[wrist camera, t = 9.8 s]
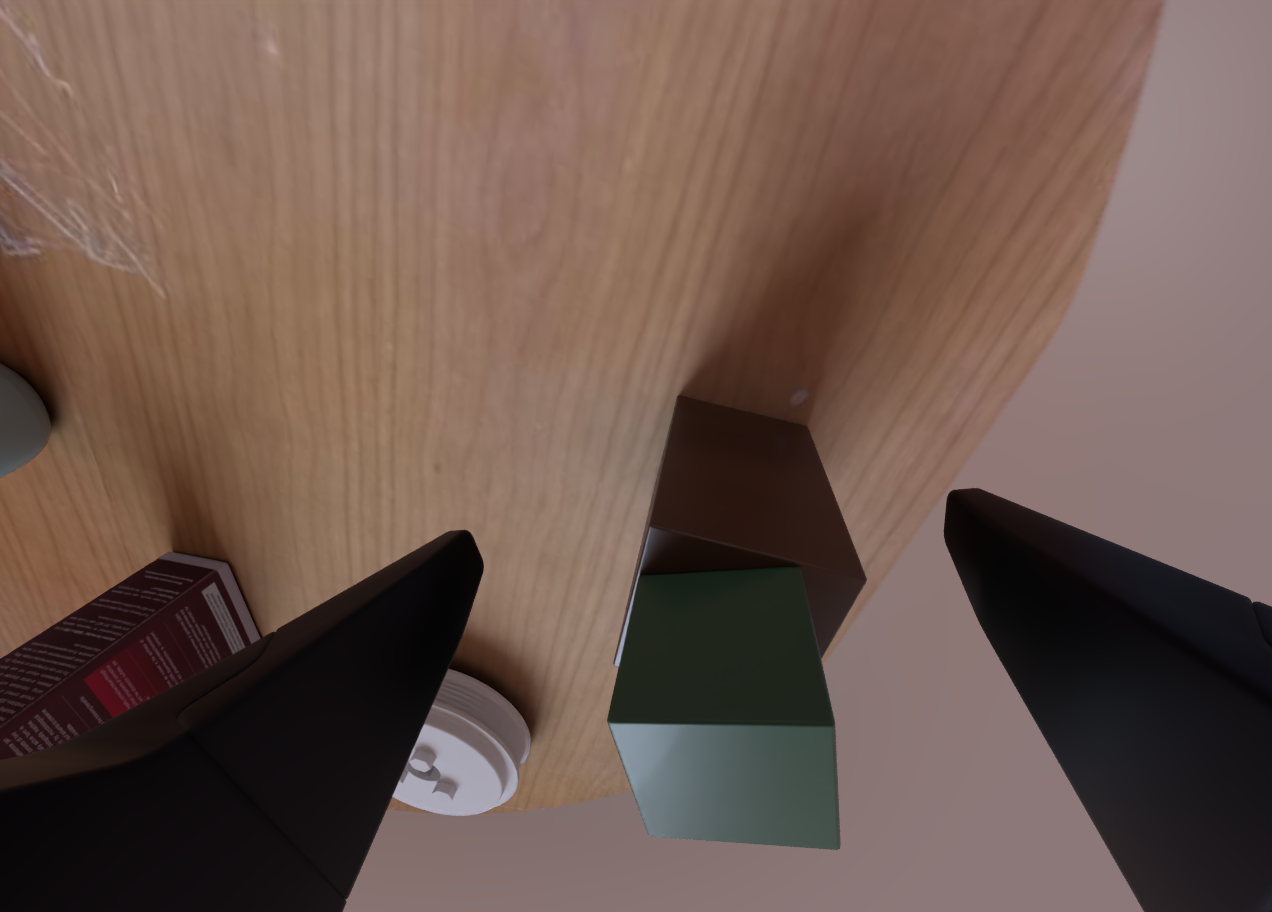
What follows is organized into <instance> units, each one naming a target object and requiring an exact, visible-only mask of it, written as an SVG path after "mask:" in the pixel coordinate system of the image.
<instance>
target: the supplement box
mask: <svg viewBox="0 0 1272 912" xmlns="http://www.w3.org/2000/svg"><path fill="white" fill-rule="evenodd" d="M259 639H261V638H260V636H259V634H258V632H257V629H256V627H255V625H254V622H253V620H252V618H251V616H250V613H249V611H248V609H247V606H246V604H245V602H244V600H243V597H242V595H241V593H240V590H239V588H238V586H237V583H236V581H235V579H234V577H233V574H232V572H231V570H230V567H229V565H228V564H227V563H225V562H221V561H217V560H212V559H207V558H202V557H197V556H191V555H186V554H181V553H175V552H168V553H166V554H164V555H162V556H161V557H160V558H158V559H157V560H155V561H154V562H152V563H150V564H148V565H147V566H145V567H144V568H142V569H141V570H139V571H138V572H136V573H134V574H133V575H131V576H130V577H128V578H127V579H125V580H124V581H122V582H120V583H119V584H117V585H116V586H114V587H113V588H111V589H109V590H108V591H106V592H105V593H103V594H102V595H100V596H98V597H97V598H95V599H94V600H92V601H91V602H89V603H88V604H86V605H85V606H83V607H81V608H80V609H78V610H77V611H75V612H74V613H72V614H70V615H69V616H67V617H66V618H64V619H63V620H61V621H59V622H58V623H56V624H55V625H53V626H51V627H50V628H48V629H47V630H45V631H44V632H42V633H41V634H39V635H37V636H36V637H34V638H33V639H31V640H29V641H28V642H26V643H25V644H23V645H22V646H20V647H18V648H17V649H15V650H14V651H12V652H11V653H9V654H8V655H6V656H4V657H3V658H1V659H0V760H2V759H8V758H13V757H18V756H22V755H26V754H30V753H34V752H37V751H40V750H43V749H46V748H49V747H52V746H55V745H58V744H60V743H63V742H65V741H68V740H70V739H73V738H75V737H77V736H79V735H81V734H83V733H85V732H87V731H89V730H91V729H93V728H95V727H97V726H99V725H101V724H103V723H104V722H106V721H108V720H110V719H112V718H114V717H116V716H118V715H120V714H122V713H124V712H125V711H127V710H129V709H131V708H133V707H135V706H137V705H139V704H141V703H143V702H144V701H146V700H148V699H150V698H152V697H154V696H156V695H158V694H160V693H162V692H164V691H165V690H167V689H169V688H171V687H173V686H175V685H177V684H179V683H181V682H183V681H184V680H186V679H188V678H190V677H192V676H194V675H196V674H197V673H199V672H201V671H203V670H205V669H207V668H209V667H211V666H212V665H214V664H216V663H218V662H220V661H222V660H223V659H225V658H227V657H229V656H231V655H232V654H234V653H236V652H238V651H240V650H241V649H243V648H245V647H247V646H248V645H250V644H252V643H254V642H256V641H257V640H259Z"/></svg>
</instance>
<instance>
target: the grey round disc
mask: <svg viewBox="0 0 1272 912" xmlns="http://www.w3.org/2000/svg"><path fill="white" fill-rule="evenodd" d="M530 747H531V737H530V733H529V729H528V727H527V725H526V723H525V721H524V719H523V718H522V716H521V715H520V713H519V712H518V711H517V710H516V708H515V707H514V706H513V705H512V704H511V703H510V702H509V701H508V700H507V699H505V698H504V697H503V696H502V695H500V694H499V693H498V692H497V691H495V690H494V689H492V688H490V687H489V686H487V685H486V684H484V683H482V682H480V681H478V680H477V679H475V678H472V677H470V676H468V675H465V674H463V673H460V672H457V671H454V670H451V669H448V671H447V673H446V675H445V678H444V680H443V682H442V684H441V687H440V689H439V691H438V694H437V696H436V698H435V700H434V703H433V705H432V707H431V710H430V712H429V714H428V716H427V719H426V721H425V723H424V726H423V728H422V730H421V732H420V735H419V737H418V739H417V742H416V744H415V746H414V748H413V751H412V753H411V755H410V758H409V760H408V762H407V764H406V767H405V769H404V771H403V774H402V776H401V778H400V780H399V783H398V785H397V787H396V790H395V792H394V794H393V796H392V797H394V798H396V799H398V800H400V801H402V802H405V803H407V804H409V805H412V806H414V807H417V808H420V809H423V810H427V811H430V812H435V813H439V814H446V815H457V816H462V815H474V814H479V813H482V812H485V811H487V810H489V809H491V808H493V807H496V806H499V805H501V804H503V803H504V802H506V801H507V800H508V799H510V798H511V797H512V795H513V794H514V793H515V790H516V788H517V785H518V781H519V767H520V766H521V764H522V763H523V762H524V761H525V760H526V758H527V756H528V754H529V750H530Z"/></svg>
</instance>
